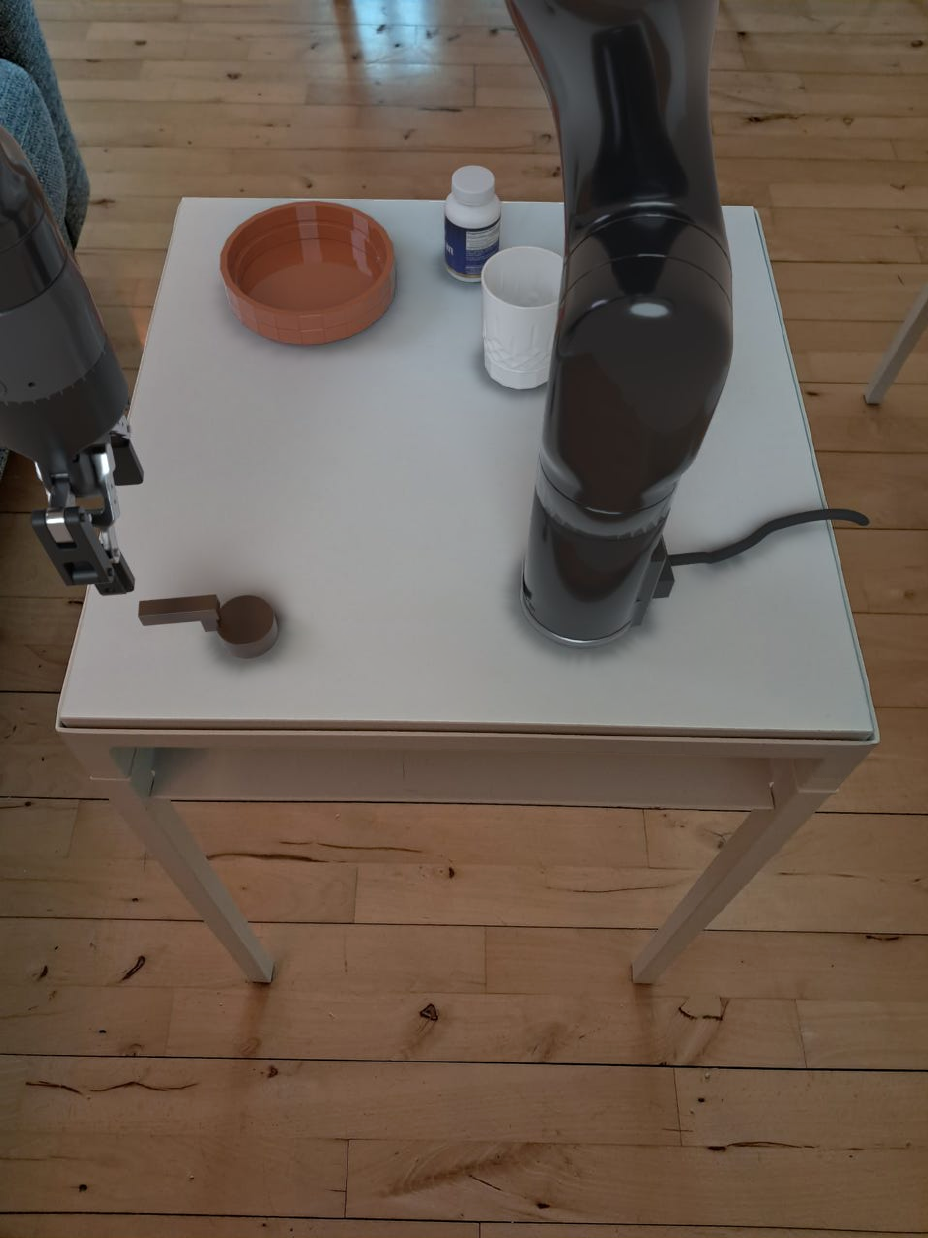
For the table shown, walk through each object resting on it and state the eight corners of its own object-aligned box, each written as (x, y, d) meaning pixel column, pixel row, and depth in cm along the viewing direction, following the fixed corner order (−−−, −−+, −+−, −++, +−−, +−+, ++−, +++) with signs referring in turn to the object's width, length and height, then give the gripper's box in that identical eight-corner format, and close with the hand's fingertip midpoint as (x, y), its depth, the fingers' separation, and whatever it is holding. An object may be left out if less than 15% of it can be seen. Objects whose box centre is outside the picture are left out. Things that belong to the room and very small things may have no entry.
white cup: (576, 381, 87) (590, 294, 78) (497, 404, 85) (503, 318, 77) (541, 325, 90) (551, 236, 82) (465, 346, 89) (467, 257, 80)
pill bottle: (437, 253, 96) (436, 165, 87) (488, 244, 96) (491, 155, 88) (453, 288, 93) (454, 200, 85) (505, 278, 94) (510, 190, 85)
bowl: (389, 230, 97) (387, 196, 94) (401, 342, 89) (400, 309, 86) (229, 240, 96) (221, 205, 93) (227, 354, 88) (218, 321, 84)
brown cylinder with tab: (278, 607, 74) (267, 572, 70) (278, 656, 72) (267, 623, 68) (158, 617, 73) (140, 583, 69) (155, 667, 71) (136, 635, 67)
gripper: (90, 445, 43) (178, 623, 57) (115, 241, 50) (187, 444, 64) (-79, 457, 43) (51, 633, 57) (-30, 249, 50) (75, 452, 64)
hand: (123, 532), depth 60 cm, fingers open, 8 cm apart
